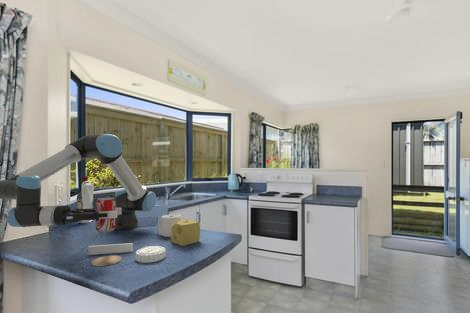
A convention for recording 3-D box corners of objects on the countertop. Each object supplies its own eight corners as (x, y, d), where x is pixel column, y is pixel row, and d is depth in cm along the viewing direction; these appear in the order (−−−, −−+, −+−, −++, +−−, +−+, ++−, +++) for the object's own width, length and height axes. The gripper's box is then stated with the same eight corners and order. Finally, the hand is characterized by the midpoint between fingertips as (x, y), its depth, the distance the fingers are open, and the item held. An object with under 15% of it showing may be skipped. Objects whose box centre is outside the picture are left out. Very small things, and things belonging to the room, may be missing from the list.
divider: (133, 250, 121) (132, 242, 121) (132, 251, 120) (132, 243, 120) (89, 254, 117) (89, 245, 117) (88, 254, 116) (88, 246, 116)
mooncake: (153, 251, 121) (153, 243, 121) (171, 256, 114) (171, 247, 114) (129, 259, 111) (129, 250, 111) (147, 265, 104) (147, 256, 104)
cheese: (170, 242, 133) (170, 222, 134) (188, 237, 141) (188, 218, 141) (182, 246, 126) (182, 225, 126) (200, 241, 134) (200, 221, 134)
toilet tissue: (182, 235, 144) (182, 217, 145) (159, 238, 141) (159, 218, 141) (180, 231, 155) (180, 213, 155) (158, 233, 151) (158, 215, 151)
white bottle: (82, 221, 185) (82, 180, 186) (95, 220, 187) (95, 180, 187) (78, 224, 177) (78, 181, 177) (91, 223, 178) (91, 181, 179)
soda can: (91, 232, 106) (91, 199, 106) (103, 228, 113) (103, 197, 113) (108, 233, 105) (108, 199, 105) (118, 228, 112) (118, 197, 112)
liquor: (85, 216, 200) (85, 176, 201) (95, 217, 197) (95, 176, 198) (74, 219, 192) (74, 177, 192) (84, 220, 189) (84, 177, 189)
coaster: (116, 254, 116) (116, 253, 116) (125, 261, 108) (125, 260, 108) (88, 261, 109) (88, 260, 109) (95, 268, 101) (95, 267, 101)
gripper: (67, 219, 115) (124, 217, 119) (43, 231, 96) (113, 227, 100) (67, 202, 115) (124, 200, 119) (43, 209, 96) (112, 207, 100)
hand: (119, 212), depth 110 cm, fingers closed on soda can, 6 cm apart
